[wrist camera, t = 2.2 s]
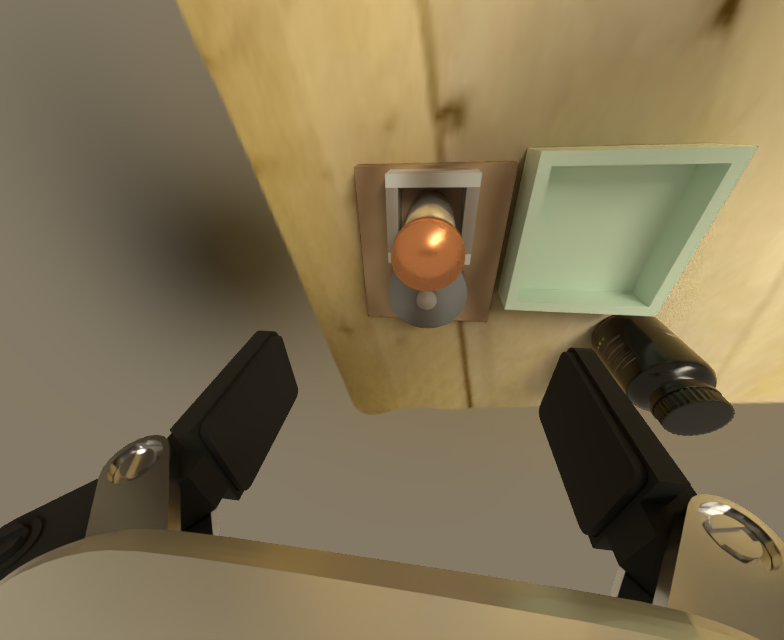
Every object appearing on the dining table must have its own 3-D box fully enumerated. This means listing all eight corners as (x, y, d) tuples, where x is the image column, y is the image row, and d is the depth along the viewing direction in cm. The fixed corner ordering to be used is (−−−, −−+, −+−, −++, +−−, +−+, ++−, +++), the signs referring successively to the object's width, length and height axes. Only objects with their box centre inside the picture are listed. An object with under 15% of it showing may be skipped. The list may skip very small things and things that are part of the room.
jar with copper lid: (458, 186, 25) (470, 221, 16) (453, 238, 27) (461, 292, 18) (406, 187, 25) (389, 220, 16) (406, 237, 28) (391, 290, 19)
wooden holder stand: (513, 161, 25) (529, 169, 20) (484, 312, 34) (491, 340, 29) (359, 164, 27) (343, 172, 22) (371, 307, 36) (361, 333, 31)
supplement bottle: (669, 309, 31) (778, 395, 21) (641, 356, 34) (721, 447, 25) (601, 307, 32) (674, 389, 22) (580, 353, 35) (635, 440, 26)
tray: (712, 143, 22) (758, 146, 19) (632, 295, 30) (655, 316, 27) (527, 147, 24) (541, 151, 21) (497, 291, 32) (504, 309, 29)
